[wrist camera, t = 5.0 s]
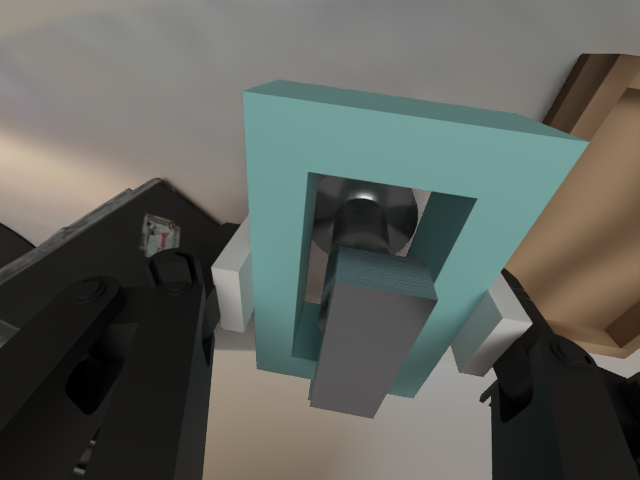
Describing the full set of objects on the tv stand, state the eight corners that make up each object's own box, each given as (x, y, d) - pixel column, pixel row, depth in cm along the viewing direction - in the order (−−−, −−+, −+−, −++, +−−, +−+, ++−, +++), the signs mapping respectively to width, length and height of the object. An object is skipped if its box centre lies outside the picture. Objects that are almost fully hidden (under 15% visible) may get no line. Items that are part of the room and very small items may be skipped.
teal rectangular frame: (279, 79, 8) (243, 91, 6) (517, 113, 8) (589, 142, 5) (274, 337, 16) (257, 390, 13) (394, 359, 15) (399, 417, 13)
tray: (439, 304, 22) (446, 327, 20) (582, 53, 12) (620, 53, 10) (602, 333, 21) (624, 358, 20) (891, 96, 11) (989, 103, 10)
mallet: (315, 211, 18) (260, 396, 8) (325, 127, 15) (255, 268, 5) (390, 223, 18) (424, 428, 8) (416, 141, 15) (523, 314, 5)
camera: (102, 240, 23) (-198, 456, 10) (152, 156, 18) (-320, 386, 5) (205, 306, 26) (68, 528, 14) (271, 252, 21) (147, 526, 9)
